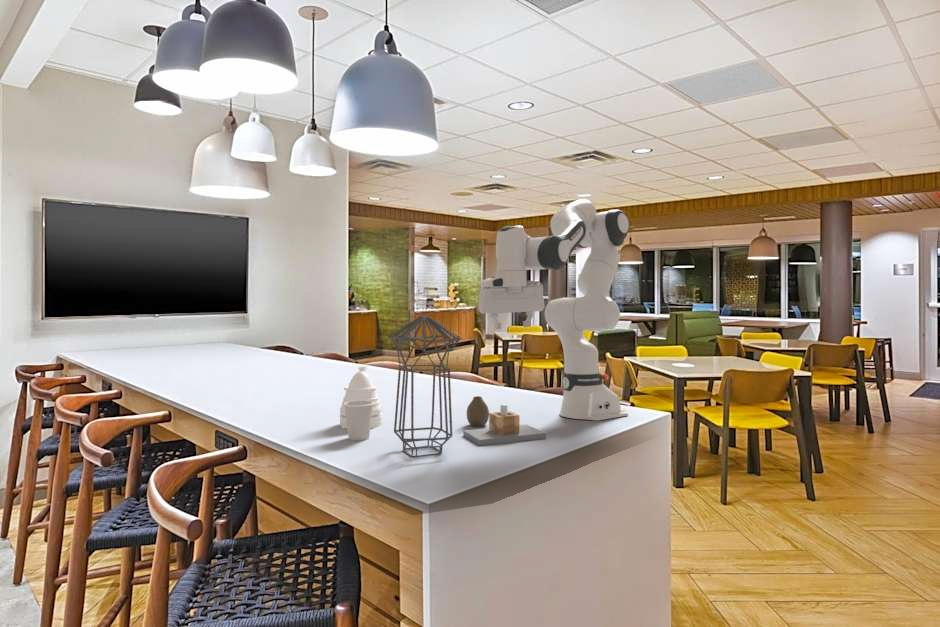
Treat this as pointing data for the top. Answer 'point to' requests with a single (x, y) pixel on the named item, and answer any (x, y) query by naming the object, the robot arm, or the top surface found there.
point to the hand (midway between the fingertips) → (512, 328)
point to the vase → (477, 412)
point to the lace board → (489, 437)
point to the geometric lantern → (423, 339)
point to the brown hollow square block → (504, 423)
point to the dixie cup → (358, 418)
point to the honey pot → (362, 397)
